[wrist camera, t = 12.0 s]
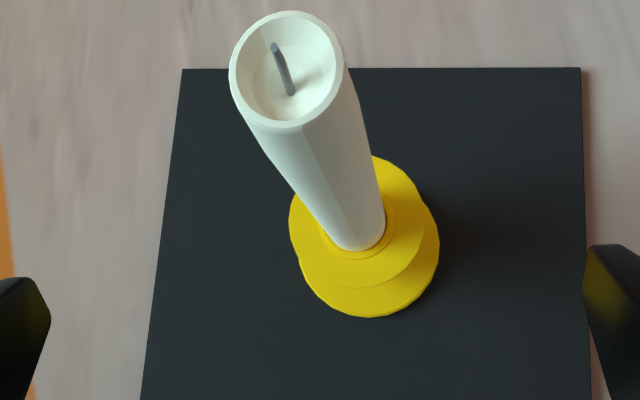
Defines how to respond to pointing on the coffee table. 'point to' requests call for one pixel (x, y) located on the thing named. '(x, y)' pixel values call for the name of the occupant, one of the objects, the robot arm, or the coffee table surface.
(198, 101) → the mat
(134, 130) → the coffee table surface
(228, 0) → the coffee table surface
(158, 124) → the coffee table surface
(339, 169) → the candle
